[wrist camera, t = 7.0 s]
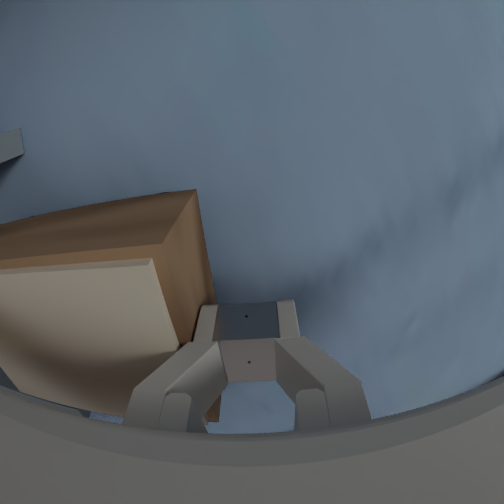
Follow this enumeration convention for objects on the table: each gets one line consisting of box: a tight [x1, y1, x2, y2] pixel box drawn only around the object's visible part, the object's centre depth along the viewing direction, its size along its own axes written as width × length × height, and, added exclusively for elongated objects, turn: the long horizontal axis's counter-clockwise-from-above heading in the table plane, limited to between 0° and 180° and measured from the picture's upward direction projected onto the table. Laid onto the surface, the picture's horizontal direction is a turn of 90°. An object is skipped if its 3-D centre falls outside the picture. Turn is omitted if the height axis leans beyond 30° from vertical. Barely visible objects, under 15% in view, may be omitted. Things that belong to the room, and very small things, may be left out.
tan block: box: [0, 189, 221, 425], centre depth 10 cm, size 7×10×5 cm
